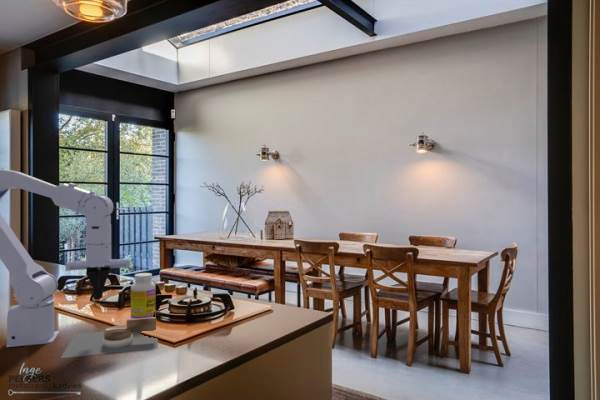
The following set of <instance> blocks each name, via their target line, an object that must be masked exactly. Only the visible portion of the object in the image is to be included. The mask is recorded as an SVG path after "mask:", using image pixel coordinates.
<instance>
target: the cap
mask: <svg viewBox="0 0 600 400" xmlns="http://www.w3.org/2000/svg"><path fill="white" fill-rule="evenodd" d="M156 327H157V317H156V316H155V317H149V318H135V319H131V318H127V319H126V324H125V325H124V324H123V325H121V324H120V325H114V326H113V325H112V326H110V327H107V328H105V329H104V330H103V331H104V339H106V340H110V341H116V340H122V339H126V338H128V337H130V336H131V335H132V332H142V331H154V330H156Z"/></svg>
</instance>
